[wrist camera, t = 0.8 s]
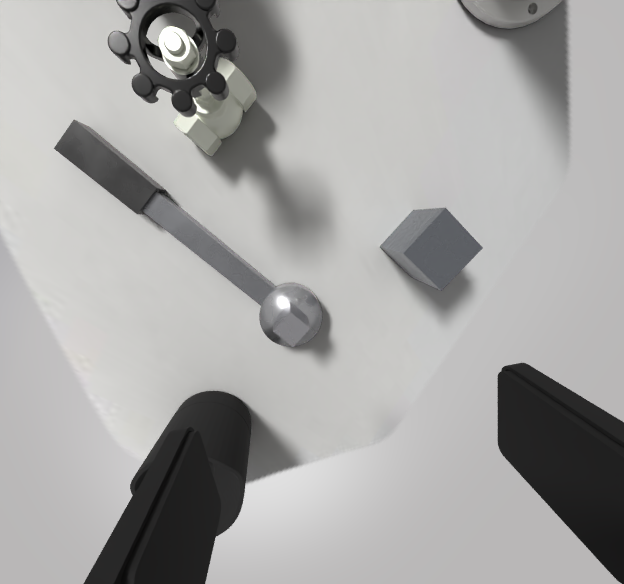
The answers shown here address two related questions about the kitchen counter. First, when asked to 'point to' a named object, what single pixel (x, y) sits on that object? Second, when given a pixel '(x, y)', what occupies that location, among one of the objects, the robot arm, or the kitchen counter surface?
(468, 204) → the kitchen counter surface
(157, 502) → the robot arm
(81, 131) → the ratchet
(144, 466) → the pen holder
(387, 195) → the kitchen counter surface
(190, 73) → the valve
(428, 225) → the brushed steel cube
